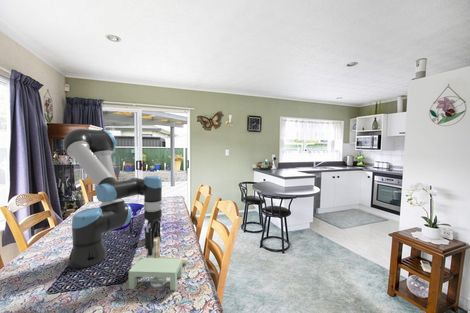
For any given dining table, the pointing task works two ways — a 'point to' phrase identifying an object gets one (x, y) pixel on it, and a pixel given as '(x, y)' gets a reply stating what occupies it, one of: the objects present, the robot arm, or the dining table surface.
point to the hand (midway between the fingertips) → (153, 258)
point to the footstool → (156, 270)
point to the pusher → (157, 251)
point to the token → (158, 282)
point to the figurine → (160, 231)
